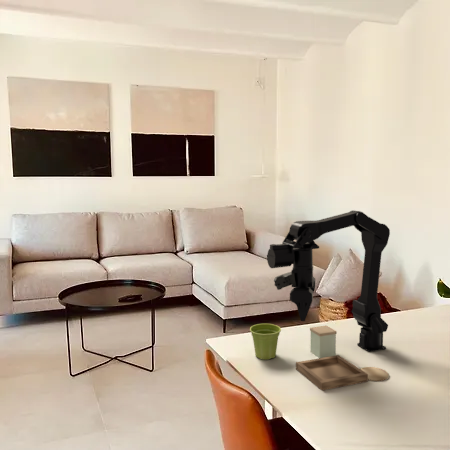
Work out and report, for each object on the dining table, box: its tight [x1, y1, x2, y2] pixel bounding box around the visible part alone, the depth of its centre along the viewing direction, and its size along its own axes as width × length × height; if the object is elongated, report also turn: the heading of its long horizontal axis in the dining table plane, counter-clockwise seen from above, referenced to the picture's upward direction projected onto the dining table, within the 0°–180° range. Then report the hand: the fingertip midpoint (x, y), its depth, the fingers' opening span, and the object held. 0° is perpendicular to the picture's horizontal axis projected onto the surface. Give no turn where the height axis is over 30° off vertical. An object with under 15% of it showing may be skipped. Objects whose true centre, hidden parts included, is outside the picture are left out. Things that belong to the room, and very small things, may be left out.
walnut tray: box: [295, 354, 369, 391], centre depth 132 cm, size 14×14×2 cm
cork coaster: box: [360, 366, 390, 382], centre depth 132 cm, size 8×8×1 cm
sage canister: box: [309, 325, 338, 359], centre depth 147 cm, size 6×6×8 cm
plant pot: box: [249, 323, 282, 361], centre depth 146 cm, size 9×9×9 cm
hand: (303, 315), depth 143 cm, fingers open, 9 cm apart
